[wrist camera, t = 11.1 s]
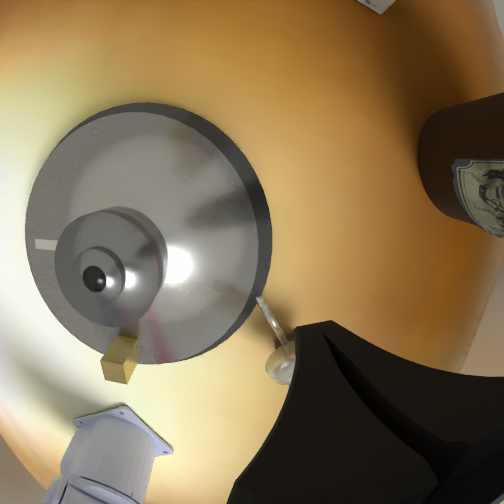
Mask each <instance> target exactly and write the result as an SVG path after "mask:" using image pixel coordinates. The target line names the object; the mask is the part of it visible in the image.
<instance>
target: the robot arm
mask: <svg viewBox="0 0 504 504" xmlns="http://www.w3.org/2000/svg"><path fill="white" fill-rule="evenodd" d="M293 332H294V344H295V357H296V360H295V366H294V371H293V375H292V380H291V384H290V387H289V390H288V393H287V396H286V399H285V402H284V404H283V406H282V409H281V411H280V413H279V416H278V418H277V420H276V422H275V424H274V426H273V428H272V430H271V431H270V433H269V435H268V436H267V438H266V440H265V441H264V443H263V445H262V446H261V448H260V449H259V451H258V452H257V454H256V455H255V457H254V458H253V459H252V461H251V462H250V463H249V464H248V466H247V467H246V468H245V469H244V471H243V472H242V473H241V474H240V476H239V477H238V478H237V479H236V480H235V482H234V485H233V488H232V490H231V493H230V495H229V498H228V501H227V504H499V503H501V502H502V501H503V500H504V377H484V376H473V375H464V374H458V373H452V372H447V371H443V370H439V369H434V368H431V367H427V366H424V365H420V364H418V363H415V362H412V361H409V360H406V359H403V358H401V357H399V356H396V355H394V354H392V353H390V352H387V351H385V350H383V349H381V348H379V347H377V346H375V345H373V344H371V343H370V342H368V341H366V340H364V339H362V338H361V337H359V336H357V335H356V334H354V333H352V332H351V331H349V330H347V329H346V328H344V327H342V326H341V325H339V324H337V323H336V322H334V321H332V320H329V321H324V322H319V323H314V324H309V325H303V326H297V327H296V328H295V329H294V330H293ZM73 423H74V424H75V425H76V426H77V427H78V428H77V430H76V432H75V434H74V436H73V438H72V440H71V442H70V444H69V446H68V448H67V450H66V452H65V454H64V456H63V458H62V460H61V465H60V469H61V475H62V476H60V477H54V479H53V481H52V483H51V485H50V487H49V489H48V492H47V494H46V496H45V498H44V500H43V503H42V504H144V502H145V497H146V492H147V488H148V483H149V479H150V475H151V470H152V466H153V462H154V457H157V456H163V455H168V454H173V453H174V449H173V448H172V447H170V446H169V445H168V444H167V443H166V442H164V441H163V440H162V439H161V438H160V437H159V436H158V435H156V434H155V433H154V432H153V431H152V430H151V429H150V428H149V427H148V426H147V425H146V424H145V423H143V422H142V421H141V420H140V419H139V418H138V417H137V416H136V415H135V414H134V413H133V412H132V411H131V410H130V409H129V408H128V407H126V406H122V407H119V408H115V409H111V410H108V411H104V412H100V413H96V414H93V415H89V416H84V417H80V418H76V419H74V420H73Z"/></svg>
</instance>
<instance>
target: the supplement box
mask: <svg viewBox="0 0 504 504" xmlns="http://www.w3.org/2000/svg"><path fill="white" fill-rule="evenodd" d="M357 1H358V2H360V3H362V4H364V5H365V6H367V7H368V8H370V9H372V10H373V11H375V12H376V13H378V14H380V15H381V14H383V13H384V12H385V11H386V10H387V9H388V8H389V7H390V6H391V5H392V4H393V3H394V2H395V1H396V0H357Z"/></svg>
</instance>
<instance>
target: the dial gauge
mask: <svg viewBox="0 0 504 504" xmlns="http://www.w3.org/2000/svg"><path fill="white" fill-rule="evenodd" d="M256 301H257V303H258V305H259V306H260V308H261V310H262V311H263V313H264V315H265V316H266V318H267V320H268V322H269V323H270V325H271V327H272V328H273V330H274V332H275V333H276V335H277V337H278V338H279V340H277V341H275V342H274V343H275V348H276V350H275V351H274V352H273V353H272V354H271V355H270V356H269V358H268V360H267V362H266V366H265V369H266V372H267V373H268V375H269V376H270V378H271V379H272V380H273V381H274V382H275V383H277V384H281V385H289V386H290V384H291V380H292V375H293V371H294V366H295V360H296V357H295V344H294V333H292V334H290V335H288V336H285V334H284V333H283V331H282V329H281V327H280V326H279V324H278V322H277V321H276V319H275V317H274V315H273V314H272V312H271V310H270V308H269V307H268V305H267V303H266V301H265V300H264V298H263V296H261V295H259V296H257V297H256Z"/></svg>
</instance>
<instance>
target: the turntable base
mask: <svg viewBox="0 0 504 504" xmlns="http://www.w3.org/2000/svg"><path fill="white" fill-rule="evenodd" d="M126 112H145V113H151V114H157V115H162V116H165V117H168V118H171V119H174V120H177V121H179V122H181V123H183V124H185V125H187V126H189V127H191V128H193V129H195V130H196V131H197V132H199V133H200V134H202V135H203V136H204V137H206V138H207V139H208V140H210V141H211V142H212V143H213V144H214V145H215V146H216V147H217V148H218V149H219V150H220V151H221V152H222V153H223V154H224V156H225V157H226V158H227V159H228V161H229V162H230V163H231V165H232V166H233V167H234V169H235V170H236V172H237V174H238V176H239V177H240V179H241V181H242V183H243V184H244V186H245V189H246V191H247V194H248V196H249V199H250V201H251V204H252V208H253V212H254V216H255V220H256V225H257V234H258V263H257V269H256V275H255V280H254V283H253V286H252V290H251V293H250V295H249V298H248V300H247V302H246V304H245V306H244V308H243V310H242V312H241V313H240V315H239V316H238V318H237V319H236V321H235V322H234V324H233V325H232V326H231V327H230V328H229V329H228V330H227V332H226V333H225V334H224V335H223V336H222V337H220V338H219V339H218V340H217V341H216V342H214V343H213V344H212V345H210V346H209V347H207V348H206V349H204V350H203V351H201V352H199V353H197V354H195V355H192V356H190V357H188V358H185V359H182V360H187V359H190V358H193V357H196V356H199V355H202V354H203V353H205V352H207V351H209V350H211V349H213V348H215V347H217V346H218V345H219V344H221V343H222V342H224V341H225V340H227V339H228V338H229V337H230V336H231V335H232V334H233V333H234V332H235V331H237V330H238V329H239V328H240V326H241V325H242V324H243V323H244V322H245V320H246V319H247V318H248V317H249V315H250V314H251V312H252V310H253V309H254V307H255V305H256V304H257V301H256V297H257V296H259V295H261V293H262V291H263V289H264V286H265V284H266V280H267V276H268V272H269V269H270V263H271V255H272V225H271V219H270V212H269V207H268V204H267V201H266V197H265V194H264V190H263V188H262V186H261V184H260V182H259V179H258V177H257V175H256V173H255V171H254V169H253V168H252V166H251V165H250V163H249V161H248V160H247V158H246V157H245V155H244V154H243V153H242V152H241V150H240V149H239V148H238V147H237V146H236V145H235V143H234V142H233V141H232V140H231V139H230V138H229V137H228V136H226V135H225V134H224V133H223V132H222V131H221V130H220V129H218V128H217V127H216V126H214V125H213V124H211V123H210V122H208V121H207V120H205V119H203V118H202V117H200V116H198V115H196V114H193V113H191V112H189V111H187V110H184V109H181V108H177V107H174V106H170V105H165V104H157V103H131V104H126V105H121V106H116V107H113V108H110V109H107V110H105V111H102V112H99V113H97V114H95V115H94V116H92V117H90V118H88V119H86V120H85V121H83V122H82V123H80V124H79V125H78V126H76V127H75V128H74V129H72V130H71V131H70V132H69V133H68V134H67V135H66V136H65V137H64V138H63V139H62V140H61V141H60V142H59V143H58V145H59V144H60V143H61V142H62V141H63V140H65V139H66V138H67V137H68V136H69V135H70V134H72V133H73V132H75V131H76V130H77V129H79V128H80V127H82V126H84V125H86V124H88V123H90V122H92V121H94V120H96V119H99V118H102V117H105V116H109V115H112V114H119V113H126ZM58 145H57V146H58ZM57 146H56V147H57ZM56 147H55V149H56ZM55 149H54V150H55ZM54 150H53V151H54ZM53 151H52V152H53ZM52 152H51V153H52ZM50 155H51V154H50ZM50 155H49V156H50ZM182 360H178V361H182ZM178 361H175V362H178ZM170 363H172V362H170Z"/></svg>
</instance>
